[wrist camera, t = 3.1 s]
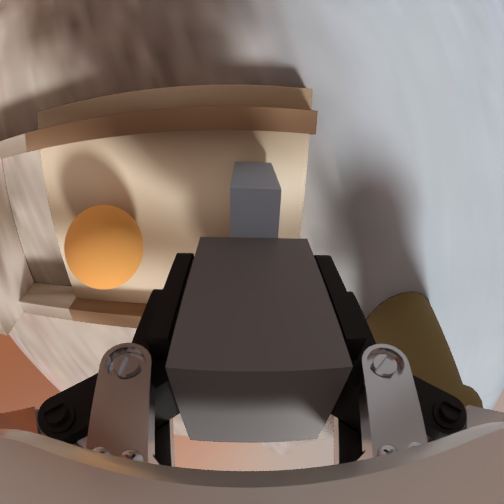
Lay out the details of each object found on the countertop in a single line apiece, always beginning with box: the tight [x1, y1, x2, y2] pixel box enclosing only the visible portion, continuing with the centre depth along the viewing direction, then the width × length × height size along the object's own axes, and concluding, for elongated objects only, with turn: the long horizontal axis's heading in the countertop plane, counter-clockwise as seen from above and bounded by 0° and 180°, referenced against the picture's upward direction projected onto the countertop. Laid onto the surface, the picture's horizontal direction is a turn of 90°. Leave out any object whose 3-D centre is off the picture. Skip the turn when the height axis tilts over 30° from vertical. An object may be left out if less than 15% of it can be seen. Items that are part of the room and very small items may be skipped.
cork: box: [366, 292, 483, 408], centre depth 15 cm, size 6×6×11 cm
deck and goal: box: [0, 84, 317, 335], centre depth 13 cm, size 14×20×5 cm
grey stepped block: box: [165, 162, 353, 442], centre depth 10 cm, size 7×4×9 cm, turn 178°
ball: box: [64, 205, 143, 289], centre depth 13 cm, size 4×4×4 cm
